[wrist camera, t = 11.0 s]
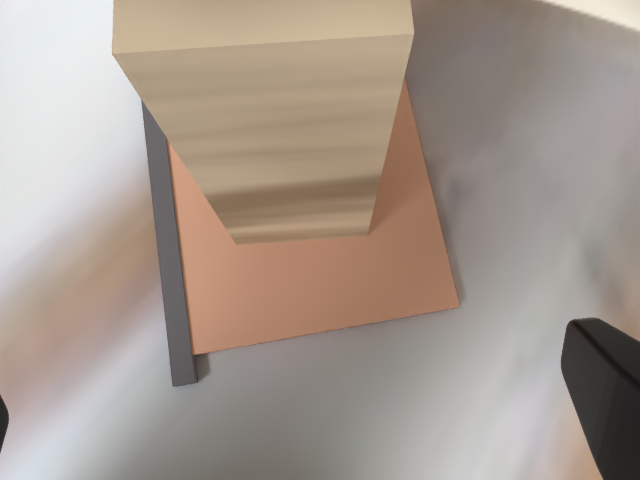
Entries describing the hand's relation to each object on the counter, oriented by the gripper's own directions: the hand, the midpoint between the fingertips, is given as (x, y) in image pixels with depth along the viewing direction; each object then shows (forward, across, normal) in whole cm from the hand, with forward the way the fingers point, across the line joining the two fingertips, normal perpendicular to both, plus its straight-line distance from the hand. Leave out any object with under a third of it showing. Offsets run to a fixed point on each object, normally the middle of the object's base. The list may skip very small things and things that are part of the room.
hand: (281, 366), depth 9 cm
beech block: (+14, 0, +3) cm, 14 cm away
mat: (+14, 0, +3) cm, 15 cm away
